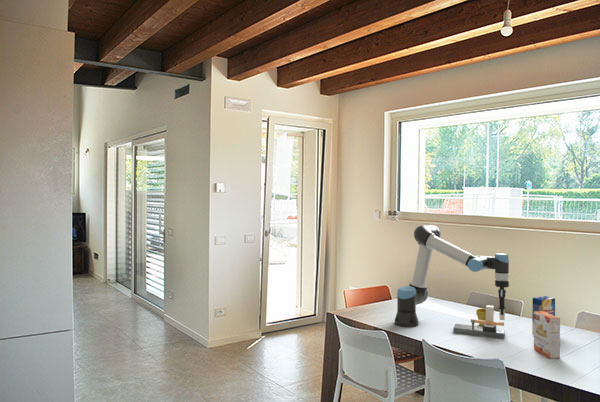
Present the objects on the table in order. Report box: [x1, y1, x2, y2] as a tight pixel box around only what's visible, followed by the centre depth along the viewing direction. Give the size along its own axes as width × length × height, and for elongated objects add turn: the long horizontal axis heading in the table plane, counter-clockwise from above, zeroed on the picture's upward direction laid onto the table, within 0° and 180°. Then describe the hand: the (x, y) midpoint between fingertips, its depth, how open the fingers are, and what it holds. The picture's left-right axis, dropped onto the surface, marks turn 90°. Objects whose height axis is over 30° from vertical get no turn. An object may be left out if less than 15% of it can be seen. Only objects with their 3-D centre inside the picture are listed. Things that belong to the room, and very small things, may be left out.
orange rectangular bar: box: [470, 318, 505, 329], centre depth 276 cm, size 18×3×6 cm, turn 64°
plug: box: [484, 304, 495, 328], centre depth 277 cm, size 6×8×14 cm
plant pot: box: [476, 308, 486, 327], centre depth 298 cm, size 10×10×10 cm
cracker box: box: [533, 311, 561, 359], centre depth 244 cm, size 14×6×21 cm, turn 5°
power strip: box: [453, 323, 506, 340], centre depth 281 cm, size 28×10×6 cm, turn 64°
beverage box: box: [531, 295, 556, 336], centre depth 279 cm, size 7×11×22 cm, turn 116°
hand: (502, 319), depth 276 cm, fingers closed
